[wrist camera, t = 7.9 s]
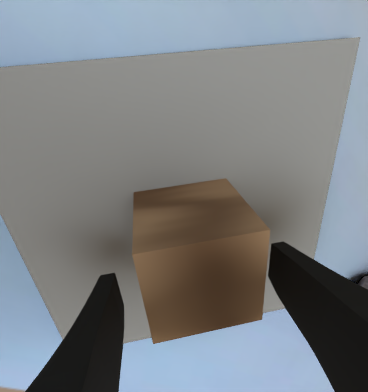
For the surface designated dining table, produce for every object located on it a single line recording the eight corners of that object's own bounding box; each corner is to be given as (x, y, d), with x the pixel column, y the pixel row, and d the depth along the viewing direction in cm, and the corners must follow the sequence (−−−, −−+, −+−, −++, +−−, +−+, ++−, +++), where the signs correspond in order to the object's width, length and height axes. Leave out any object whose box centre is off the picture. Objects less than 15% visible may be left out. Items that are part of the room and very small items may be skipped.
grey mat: (72, 346, 18) (70, 354, 17) (-59, 73, 10) (-70, 73, 9) (299, 298, 20) (304, 304, 20) (350, 38, 12) (360, 37, 11)
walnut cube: (148, 264, 15) (153, 344, 11) (133, 192, 13) (132, 254, 8) (226, 250, 16) (262, 319, 11) (225, 178, 13) (270, 229, 9)
